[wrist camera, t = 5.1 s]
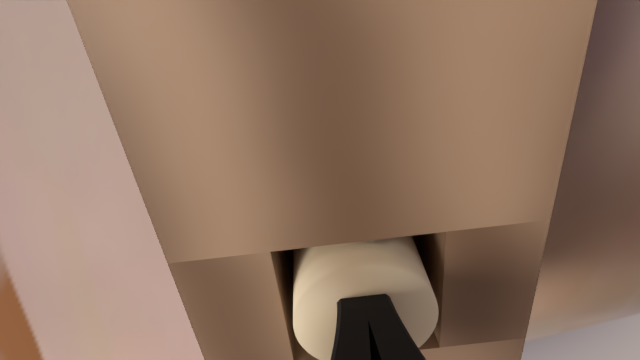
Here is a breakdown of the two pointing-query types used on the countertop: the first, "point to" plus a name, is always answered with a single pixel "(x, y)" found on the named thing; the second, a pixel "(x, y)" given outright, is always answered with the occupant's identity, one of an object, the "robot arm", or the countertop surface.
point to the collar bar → (344, 149)
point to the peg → (359, 288)
